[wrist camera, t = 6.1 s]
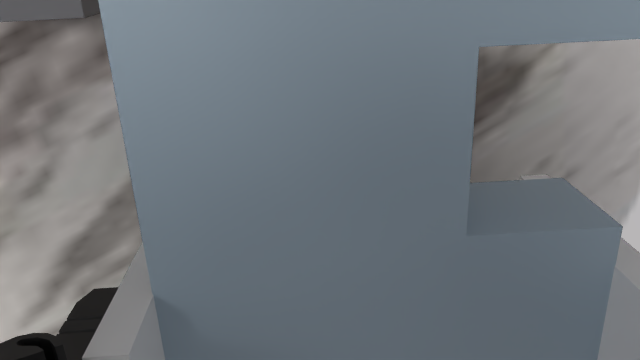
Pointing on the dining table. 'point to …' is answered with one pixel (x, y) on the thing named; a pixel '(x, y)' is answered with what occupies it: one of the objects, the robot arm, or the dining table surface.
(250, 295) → the door
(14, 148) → the dining table surface
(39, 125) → the dining table surface
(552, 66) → the dining table surface
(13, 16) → the gray rectangular block
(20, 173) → the dining table surface
